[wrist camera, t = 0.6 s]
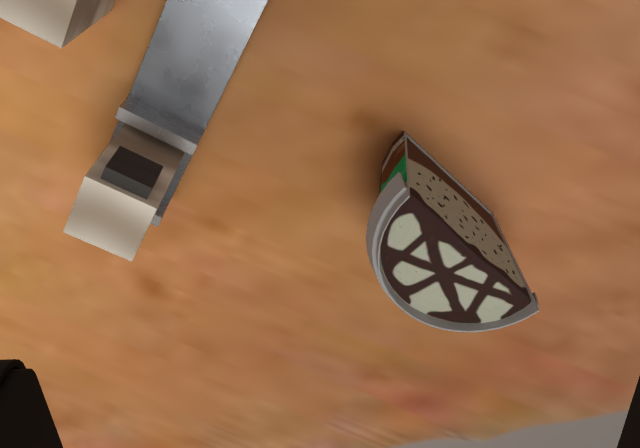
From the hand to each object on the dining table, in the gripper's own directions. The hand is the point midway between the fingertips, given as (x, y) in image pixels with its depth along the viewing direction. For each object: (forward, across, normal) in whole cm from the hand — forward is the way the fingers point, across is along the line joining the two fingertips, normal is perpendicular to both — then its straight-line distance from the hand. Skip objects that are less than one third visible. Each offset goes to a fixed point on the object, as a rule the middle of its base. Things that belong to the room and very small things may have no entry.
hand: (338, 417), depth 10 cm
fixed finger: (+30, +12, +8) cm, 33 cm away
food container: (+32, -6, +14) cm, 35 cm away
